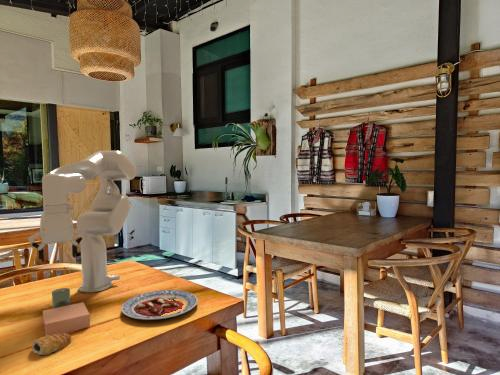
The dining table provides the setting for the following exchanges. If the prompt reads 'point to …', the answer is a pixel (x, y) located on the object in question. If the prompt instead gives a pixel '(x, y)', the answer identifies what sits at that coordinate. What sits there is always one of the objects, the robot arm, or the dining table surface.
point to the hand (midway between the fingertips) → (58, 258)
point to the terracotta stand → (66, 319)
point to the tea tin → (61, 297)
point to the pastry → (51, 343)
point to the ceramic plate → (158, 304)
